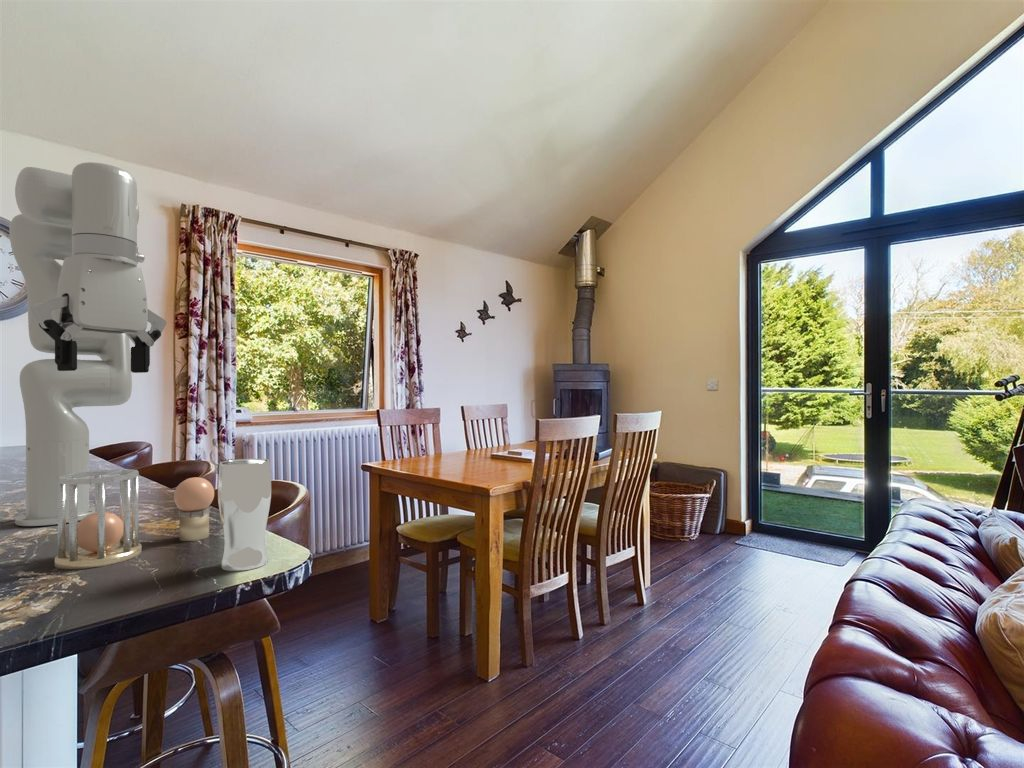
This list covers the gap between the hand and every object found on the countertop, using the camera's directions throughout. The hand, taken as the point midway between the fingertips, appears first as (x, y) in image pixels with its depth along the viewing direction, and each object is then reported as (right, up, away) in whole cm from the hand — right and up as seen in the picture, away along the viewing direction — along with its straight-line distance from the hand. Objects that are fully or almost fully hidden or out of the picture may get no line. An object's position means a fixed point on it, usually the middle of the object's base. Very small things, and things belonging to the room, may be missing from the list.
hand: (105, 371), depth 77 cm
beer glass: (+20, -28, 0) cm, 35 cm away
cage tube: (-4, -28, +4) cm, 29 cm away
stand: (+4, -28, +15) cm, 32 cm away
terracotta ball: (+4, -21, +15) cm, 26 cm away
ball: (-4, -24, +4) cm, 25 cm away
